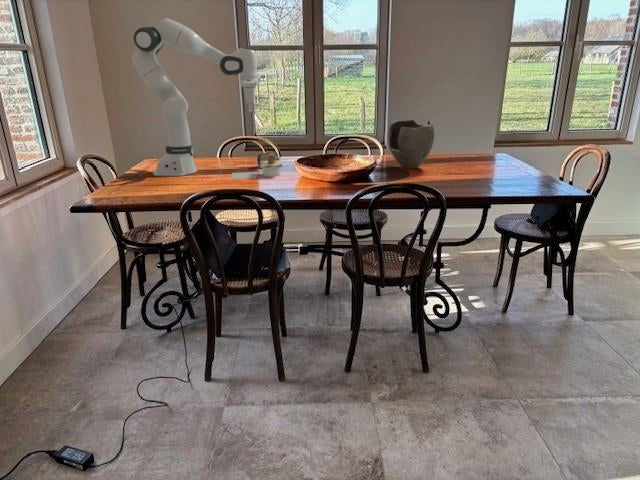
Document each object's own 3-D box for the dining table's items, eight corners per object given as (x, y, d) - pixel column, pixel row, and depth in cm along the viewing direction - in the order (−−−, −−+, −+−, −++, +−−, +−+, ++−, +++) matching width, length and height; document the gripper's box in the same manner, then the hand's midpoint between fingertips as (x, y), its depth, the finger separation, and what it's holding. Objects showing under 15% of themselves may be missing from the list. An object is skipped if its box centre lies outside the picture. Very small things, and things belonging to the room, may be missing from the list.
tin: (260, 169, 251) (259, 154, 248) (256, 169, 253) (255, 153, 250) (279, 164, 262) (278, 150, 259) (275, 164, 264) (274, 149, 261)
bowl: (262, 177, 234) (262, 167, 232) (263, 173, 243) (262, 163, 241) (280, 177, 235) (280, 166, 233) (280, 172, 244) (279, 162, 242)
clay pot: (429, 163, 260) (432, 118, 251) (434, 174, 238) (438, 124, 229) (386, 163, 262) (388, 118, 253) (387, 173, 240) (389, 124, 231)
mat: (230, 179, 231) (230, 178, 231) (232, 173, 243) (232, 172, 243) (256, 178, 232) (256, 178, 232) (257, 172, 244) (257, 172, 244)
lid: (260, 167, 231) (259, 157, 230) (260, 162, 242) (260, 153, 240) (282, 166, 232) (281, 157, 231) (281, 162, 243) (281, 152, 241)
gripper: (244, 81, 242) (245, 108, 247) (241, 83, 223) (244, 113, 228) (256, 81, 243) (257, 108, 248) (255, 83, 224) (256, 112, 229)
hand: (251, 110), depth 238 cm, fingers open, 8 cm apart
